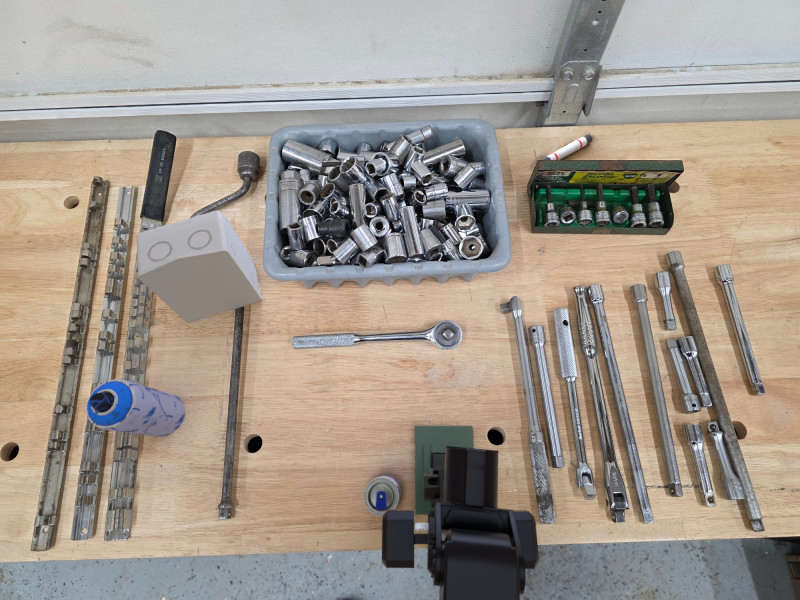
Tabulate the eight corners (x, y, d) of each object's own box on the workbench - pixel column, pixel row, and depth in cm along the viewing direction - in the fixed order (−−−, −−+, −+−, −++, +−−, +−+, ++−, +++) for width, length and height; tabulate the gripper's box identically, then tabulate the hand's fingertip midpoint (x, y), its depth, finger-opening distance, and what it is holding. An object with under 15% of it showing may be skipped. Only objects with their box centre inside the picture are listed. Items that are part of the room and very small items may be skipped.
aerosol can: (193, 394, 84) (130, 372, 65) (185, 438, 81) (118, 429, 62) (151, 393, 84) (76, 372, 65) (142, 438, 81) (62, 429, 62)
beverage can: (401, 507, 76) (399, 516, 62) (371, 507, 76) (362, 516, 62) (401, 475, 78) (399, 477, 64) (372, 475, 78) (363, 476, 64)
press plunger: (459, 483, 74) (460, 483, 72) (432, 482, 74) (433, 483, 72) (458, 454, 76) (459, 454, 74) (432, 454, 76) (432, 454, 74)
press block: (475, 513, 76) (478, 515, 72) (415, 513, 76) (416, 515, 72) (470, 426, 81) (473, 424, 77) (414, 426, 81) (415, 424, 77)
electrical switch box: (253, 246, 97) (213, 180, 79) (265, 304, 90) (223, 245, 72) (185, 266, 95) (129, 203, 78) (191, 326, 88) (131, 272, 71)
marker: (584, 138, 102) (587, 132, 100) (590, 144, 101) (593, 138, 99) (529, 168, 99) (532, 162, 97) (535, 174, 99) (537, 169, 97)
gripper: (544, 468, 51) (514, 468, 66) (379, 468, 52) (386, 468, 66) (555, 581, 47) (521, 554, 62) (378, 580, 48) (385, 554, 62)
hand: (452, 529), depth 63 cm, fingers closed
